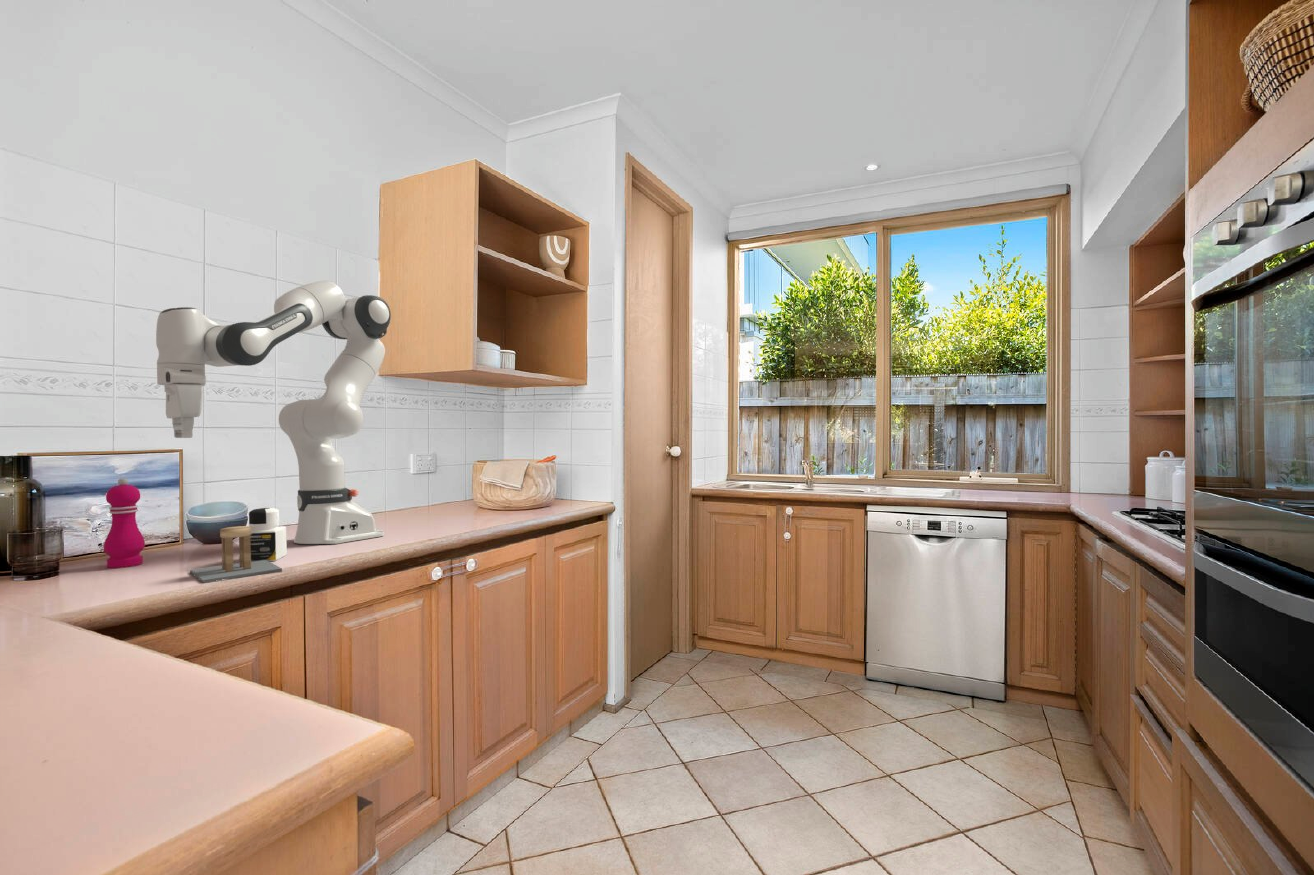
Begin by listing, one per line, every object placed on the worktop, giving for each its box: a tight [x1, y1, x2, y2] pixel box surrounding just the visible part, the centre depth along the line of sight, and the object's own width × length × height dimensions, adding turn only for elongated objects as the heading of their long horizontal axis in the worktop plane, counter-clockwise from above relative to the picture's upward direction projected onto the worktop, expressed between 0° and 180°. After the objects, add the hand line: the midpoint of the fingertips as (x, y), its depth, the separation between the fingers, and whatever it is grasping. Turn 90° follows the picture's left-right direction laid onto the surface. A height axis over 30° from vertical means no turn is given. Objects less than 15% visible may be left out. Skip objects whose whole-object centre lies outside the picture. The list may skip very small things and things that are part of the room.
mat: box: [189, 559, 283, 583], centre depth 135 cm, size 14×14×1 cm
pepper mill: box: [103, 477, 146, 569], centre depth 144 cm, size 7×7×20 cm
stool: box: [219, 525, 251, 572], centre depth 135 cm, size 6×6×9 cm
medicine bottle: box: [248, 507, 288, 562], centre depth 149 cm, size 7×7×12 cm
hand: (183, 437), depth 145 cm, fingers open, 8 cm apart
